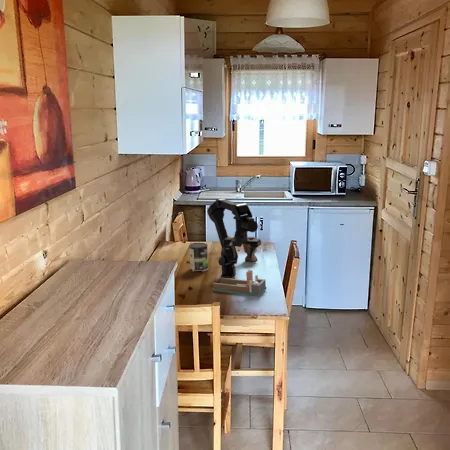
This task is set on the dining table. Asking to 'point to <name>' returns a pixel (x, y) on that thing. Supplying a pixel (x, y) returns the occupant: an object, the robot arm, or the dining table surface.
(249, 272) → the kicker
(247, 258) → the mortar and pestle
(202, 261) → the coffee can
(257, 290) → the pitch
